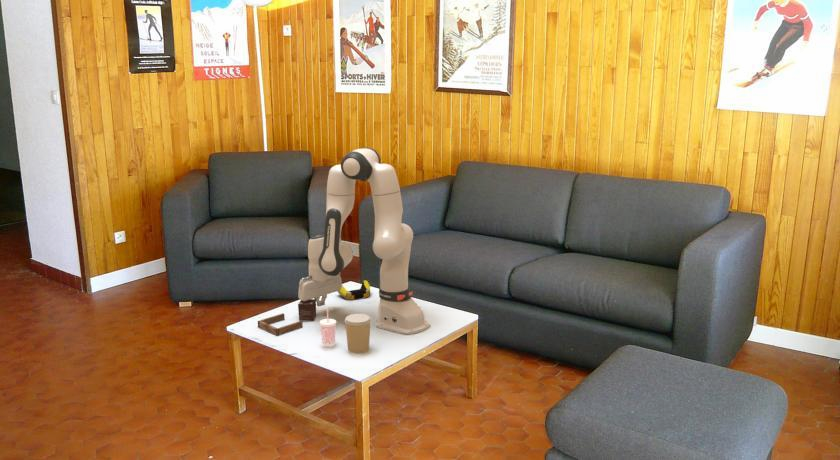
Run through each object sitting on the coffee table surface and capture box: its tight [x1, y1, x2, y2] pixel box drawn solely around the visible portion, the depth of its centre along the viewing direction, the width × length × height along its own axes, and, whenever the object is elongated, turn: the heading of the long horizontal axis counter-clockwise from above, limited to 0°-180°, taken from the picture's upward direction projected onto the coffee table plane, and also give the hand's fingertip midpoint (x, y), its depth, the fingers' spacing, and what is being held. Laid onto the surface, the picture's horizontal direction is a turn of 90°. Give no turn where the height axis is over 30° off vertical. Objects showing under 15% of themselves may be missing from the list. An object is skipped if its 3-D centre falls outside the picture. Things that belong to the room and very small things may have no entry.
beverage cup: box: [319, 308, 337, 348], centre depth 270 cm, size 6×6×14 cm
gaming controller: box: [336, 280, 371, 301], centre depth 323 cm, size 15×6×10 cm
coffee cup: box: [344, 313, 372, 354], centre depth 267 cm, size 9×9×12 cm
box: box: [297, 298, 317, 322], centre depth 297 cm, size 6×6×7 cm
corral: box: [257, 313, 303, 336], centre depth 288 cm, size 13×12×2 cm
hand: (320, 305), depth 302 cm, fingers closed
